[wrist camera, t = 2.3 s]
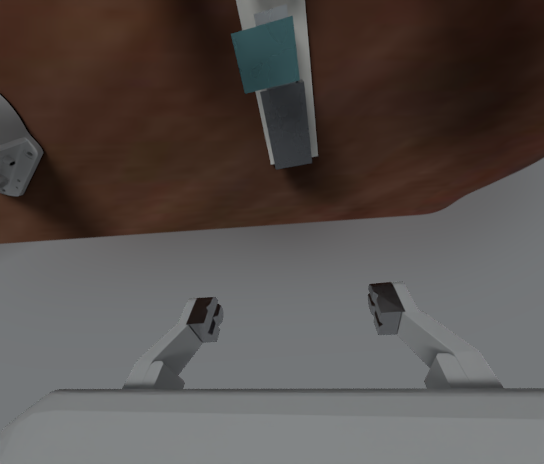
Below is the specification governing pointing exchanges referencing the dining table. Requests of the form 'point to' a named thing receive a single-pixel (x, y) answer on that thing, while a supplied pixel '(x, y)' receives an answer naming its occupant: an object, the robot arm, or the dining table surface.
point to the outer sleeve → (287, 124)
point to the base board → (252, 3)
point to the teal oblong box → (267, 51)
